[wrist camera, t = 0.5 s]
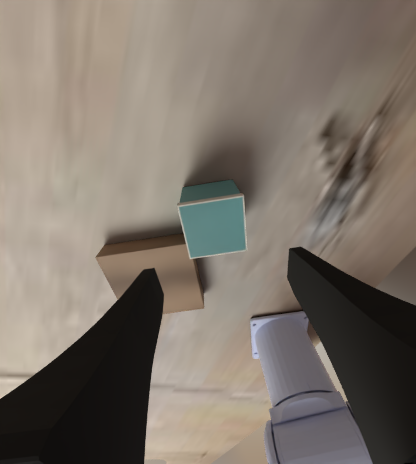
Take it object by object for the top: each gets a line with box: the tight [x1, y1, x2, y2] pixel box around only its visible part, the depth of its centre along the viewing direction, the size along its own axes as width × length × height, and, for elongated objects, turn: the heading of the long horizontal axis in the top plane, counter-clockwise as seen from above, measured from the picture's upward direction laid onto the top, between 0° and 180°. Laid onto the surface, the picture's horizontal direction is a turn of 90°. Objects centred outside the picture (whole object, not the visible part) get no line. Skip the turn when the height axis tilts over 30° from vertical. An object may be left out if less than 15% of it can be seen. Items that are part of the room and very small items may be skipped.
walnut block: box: [95, 233, 204, 314], centre depth 22 cm, size 9×9×2 cm
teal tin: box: [177, 180, 247, 259], centre depth 17 cm, size 5×5×5 cm
